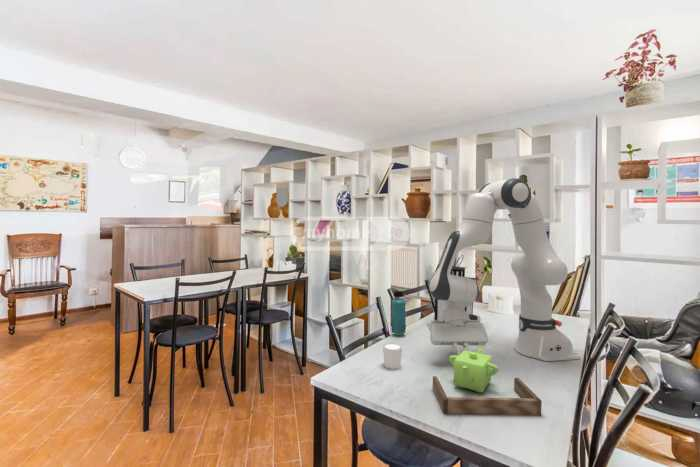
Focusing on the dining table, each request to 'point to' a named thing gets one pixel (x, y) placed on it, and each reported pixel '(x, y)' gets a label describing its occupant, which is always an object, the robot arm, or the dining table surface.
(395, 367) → the white cylinder
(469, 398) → the frame
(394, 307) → the beverage bottle
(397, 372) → the dining table surface
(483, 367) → the teapot
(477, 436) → the dining table surface
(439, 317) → the lantern
